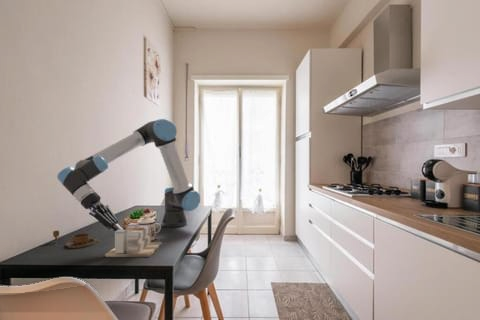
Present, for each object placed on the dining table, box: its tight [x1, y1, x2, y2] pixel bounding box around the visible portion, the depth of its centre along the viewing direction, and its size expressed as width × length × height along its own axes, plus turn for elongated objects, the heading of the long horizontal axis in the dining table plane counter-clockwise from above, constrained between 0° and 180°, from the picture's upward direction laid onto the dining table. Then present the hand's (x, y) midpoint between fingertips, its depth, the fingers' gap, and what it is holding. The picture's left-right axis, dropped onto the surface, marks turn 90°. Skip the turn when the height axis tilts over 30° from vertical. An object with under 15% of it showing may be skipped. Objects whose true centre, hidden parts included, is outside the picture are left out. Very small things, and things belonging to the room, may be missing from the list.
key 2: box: [127, 222, 139, 228], centre depth 127 cm, size 3×4×9 cm
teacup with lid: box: [136, 215, 162, 242], centre depth 139 cm, size 12×9×12 cm
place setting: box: [52, 230, 101, 249], centre depth 132 cm, size 18×20×6 cm
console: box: [104, 225, 162, 258], centre depth 121 cm, size 17×18×10 cm
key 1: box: [114, 229, 127, 253], centre depth 114 cm, size 3×4×9 cm
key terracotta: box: [125, 225, 137, 234], centre depth 121 cm, size 3×4×9 cm
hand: (124, 236), depth 121 cm, fingers closed
